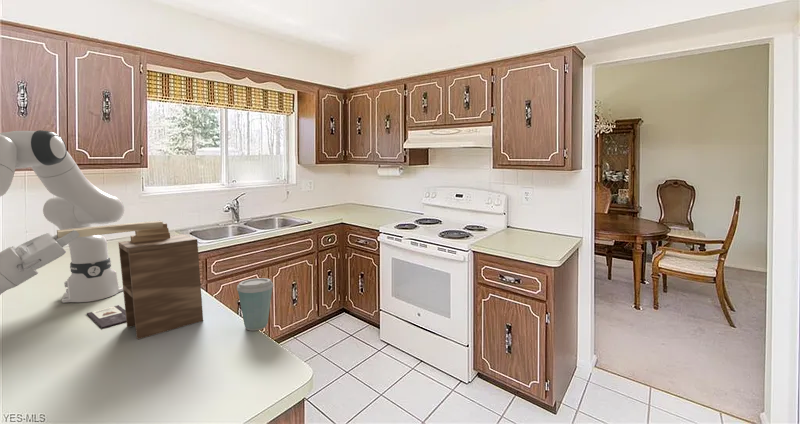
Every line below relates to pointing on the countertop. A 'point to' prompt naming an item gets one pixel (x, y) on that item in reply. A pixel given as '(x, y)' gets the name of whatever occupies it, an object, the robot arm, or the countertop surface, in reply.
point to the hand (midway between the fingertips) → (76, 231)
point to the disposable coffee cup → (255, 302)
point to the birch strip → (112, 229)
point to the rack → (160, 281)
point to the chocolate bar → (108, 316)
